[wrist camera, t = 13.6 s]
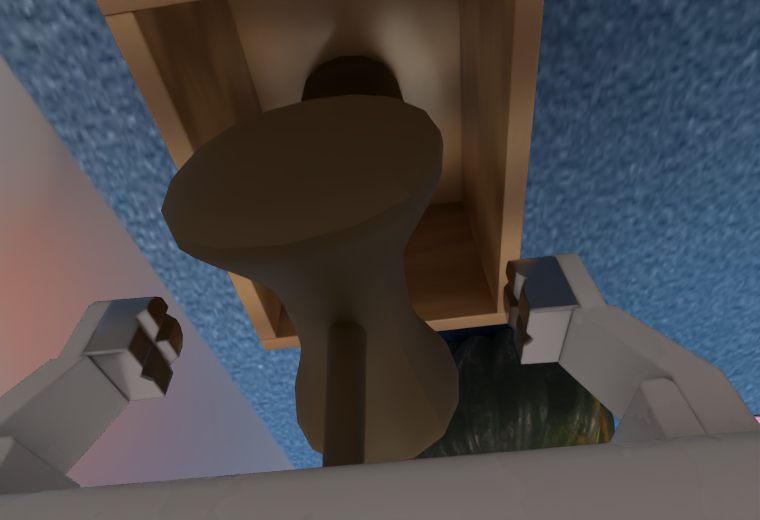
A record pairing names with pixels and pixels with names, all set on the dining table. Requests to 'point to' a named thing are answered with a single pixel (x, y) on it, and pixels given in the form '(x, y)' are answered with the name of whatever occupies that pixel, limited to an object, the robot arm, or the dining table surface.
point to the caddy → (418, 87)
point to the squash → (516, 403)
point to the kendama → (333, 252)
